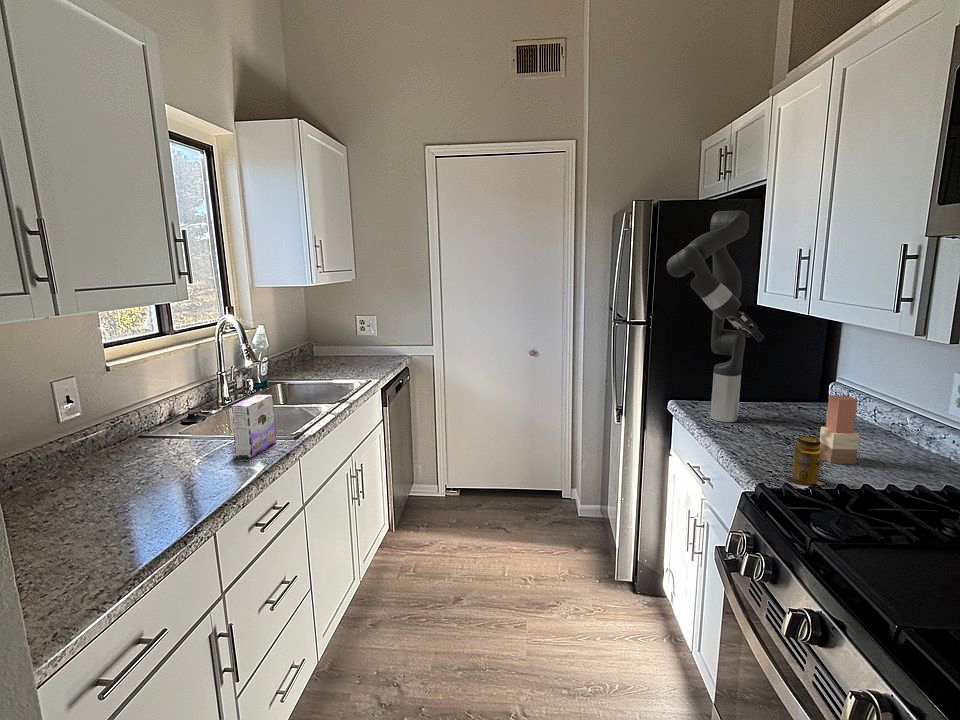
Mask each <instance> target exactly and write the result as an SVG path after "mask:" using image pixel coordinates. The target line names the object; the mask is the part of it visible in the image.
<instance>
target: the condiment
mask: <svg viewBox="0 0 960 720" xmlns="http://www.w3.org/2000/svg"><path fill="white" fill-rule="evenodd" d="M820 463H821V451H820V438H819V439H818V438H816V437H813V436H805V435H804V436H803V435H802V436H798V437H797V441H796V446H795V447H794V451H793V461H792V471H791V475H789V476H785V477H780V478H778V480H780V481H781V482H785V483H787V482H788V483H787V484H790V485H791V486H794V487H797V488H799V489H802V490H805V489H804V488H808V486H809V485H810V484H818V485H819V486H822V485H825V484H826V483H825V482H823V481H822V482H821V481H819V480H818V479H819V472H820ZM808 489H809V488H808Z"/></svg>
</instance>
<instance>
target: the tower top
mask: <svg viewBox="0 0 960 720" xmlns="http://www.w3.org/2000/svg"><path fill="white" fill-rule="evenodd" d="M819 440H820V442H822V443H823V444H825V445H826V446H828V447H830V448H831V449H850V450H857V451H858V450H859V442H860V433H857V432H855V431H854V432H853V433H835V432H833V431H831V430H829V429H827V428H826V426H820V433H819Z"/></svg>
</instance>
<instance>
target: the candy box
mask: <svg viewBox="0 0 960 720" xmlns="http://www.w3.org/2000/svg"><path fill="white" fill-rule="evenodd" d="M230 408H231V409H230V410H231V419H232V429H233V430H232V431H233V438H234V439H233V441H234V450H235V451H234V452H235V457H243V458H244V457H245V458H253V457H255V456H256V455H258V454H259V453H261V452H263V451H264V450H266V449H268V448H269V447H270V446H272V445H275V443H277V434H276V425H275V424H276V421H275V413H274V401H273V395H272V394H255V395H253V396H251V397H248V398H245V399H243V400H242V401H239V402H237V403H235V404H233V405H230Z"/></svg>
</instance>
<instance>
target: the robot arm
mask: <svg viewBox="0 0 960 720" xmlns="http://www.w3.org/2000/svg"><path fill="white" fill-rule="evenodd" d="M749 217H750V216H749V214H748V213H747V212H746V211H744V210H721V211H720V210H718V211H716V212H714V213H713V214H712V216H711V219H710V225H709V226H710V227H709V229H710V231H708V232H706V233H702V234H700V235H699V236H698V237H696V238H695V239H694V240H692V241H690V243H689V244H688V245H686V246H685V247H684V248H683V249H681V250H680V251H678V252H676V253H675V254H673V255H672V256H670V258H668V260H667V262H666V270H667V273H668V274H669V275H670V276H671V277H674V278H682V277H685V276H686V275H688V274H689V273H691V272H692V271H693V273H694V275H695V276H694V277H693V278H692V279H691V281H690V288H691V289H692V290H693V291H694V292H695V293H696V294H697V295H698V296H699V297H700V298H701V300H702V301H703V302H704V303H705V305H706V306H707V307H708V308H709V309H710V310H711V311H712V321H711V323H712V324H711V336H710V337H711V338H710V347H711V352H712V353H714V354H715V355H721V356H723V355H724V356H731V357H730V358H731V359H729V360H728V361H725V362H721V363H720V362H719V363H717V364H715V365H714V367H713V374H712V375H713V376H712V377H713V378H712V391H711V392H712V393H711V406H710V415H709V416H710V417H709V418H710V419H712V420H714V421H717V422H724V423H734V422H737V421H738V418H739V417H738V416H739V405H740V395H741V393H740V392H741V381H742V380H741V379H742V370H743V361H744V353H745V347H746V338H748V339H749V338H751V336H752V337H753V338H754V339H755V340H756V342H762V341H763V340H765V338H766V337H765V335H764V333H762V332H761V331H760V330H759V325H758V324H756V322H754V320H752V319H751V318H750V317H749V316H748V314H747V313H746V312H743V311H739V309H740V307H741V305H742V303H741V301H740V300H739V299H740V297H741V295H742V274H741V271H740V270H739V268H738V267H737V265H736V264H735V262H734V260H733V259H732V257H731V256H730V253H729V251H728V249H727V245H729V244H731V243H733V242H735V241H737V240H740V239H741V238H743V237H744V236H745V235H746V234H747V232H748V231H749V229H750V218H749ZM710 256H712V271H711V270H710V268H709V266H708V264H707V263H706V259H708V258H709V257H710ZM726 319H727V321H728V323H730V324H731V325H732V326H733V328H736V330H735V329H726V328H725V329H724V323H725V320H726ZM750 326H751V328H750Z"/></svg>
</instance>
